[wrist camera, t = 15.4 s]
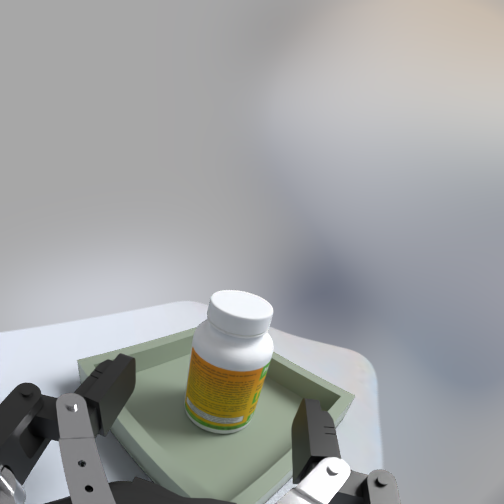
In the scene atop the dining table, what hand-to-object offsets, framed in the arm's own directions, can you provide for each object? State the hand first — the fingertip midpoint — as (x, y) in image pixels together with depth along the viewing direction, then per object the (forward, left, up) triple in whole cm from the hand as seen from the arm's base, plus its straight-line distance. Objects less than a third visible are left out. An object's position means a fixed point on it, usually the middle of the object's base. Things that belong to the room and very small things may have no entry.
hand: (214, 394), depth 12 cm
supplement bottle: (-4, +5, -8) cm, 10 cm away
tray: (-4, +5, -8) cm, 11 cm away
